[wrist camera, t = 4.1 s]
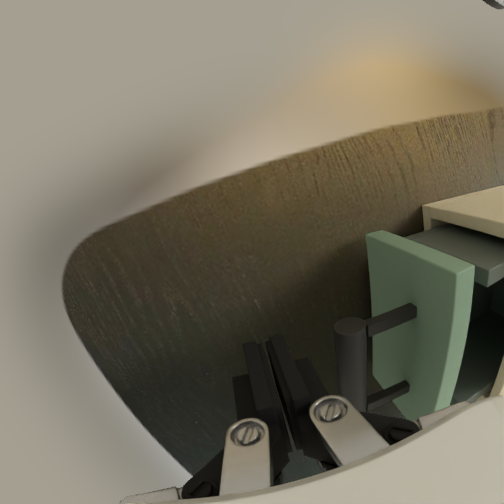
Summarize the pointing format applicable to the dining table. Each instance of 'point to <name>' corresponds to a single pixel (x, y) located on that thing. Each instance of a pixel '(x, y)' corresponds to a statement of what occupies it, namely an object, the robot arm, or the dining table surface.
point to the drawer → (426, 321)
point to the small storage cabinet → (477, 218)
